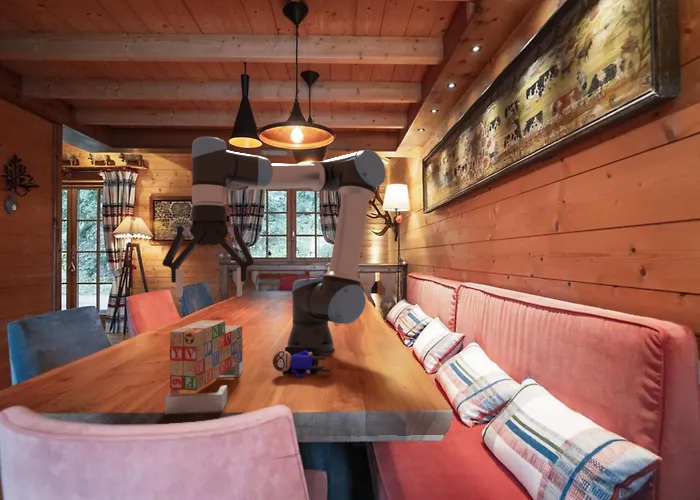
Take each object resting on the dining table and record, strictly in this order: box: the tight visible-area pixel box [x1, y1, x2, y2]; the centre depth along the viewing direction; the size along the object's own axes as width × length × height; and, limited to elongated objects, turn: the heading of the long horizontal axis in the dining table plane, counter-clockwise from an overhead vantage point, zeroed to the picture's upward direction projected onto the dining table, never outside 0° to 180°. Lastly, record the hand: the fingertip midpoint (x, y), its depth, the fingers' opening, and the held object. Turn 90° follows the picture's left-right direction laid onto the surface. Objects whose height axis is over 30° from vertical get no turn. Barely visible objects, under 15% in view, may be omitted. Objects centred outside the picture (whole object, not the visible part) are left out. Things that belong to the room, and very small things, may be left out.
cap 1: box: [164, 384, 228, 416], centre depth 79 cm, size 11×5×4 cm, turn 97°
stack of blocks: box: [169, 319, 244, 392], centre depth 90 cm, size 21×6×12 cm, turn 170°
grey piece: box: [216, 357, 244, 379], centre depth 100 cm, size 11×5×4 cm, turn 97°
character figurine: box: [272, 346, 331, 379], centre depth 100 cm, size 8×7×15 cm
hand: (209, 296), depth 90 cm, fingers open, 13 cm apart
